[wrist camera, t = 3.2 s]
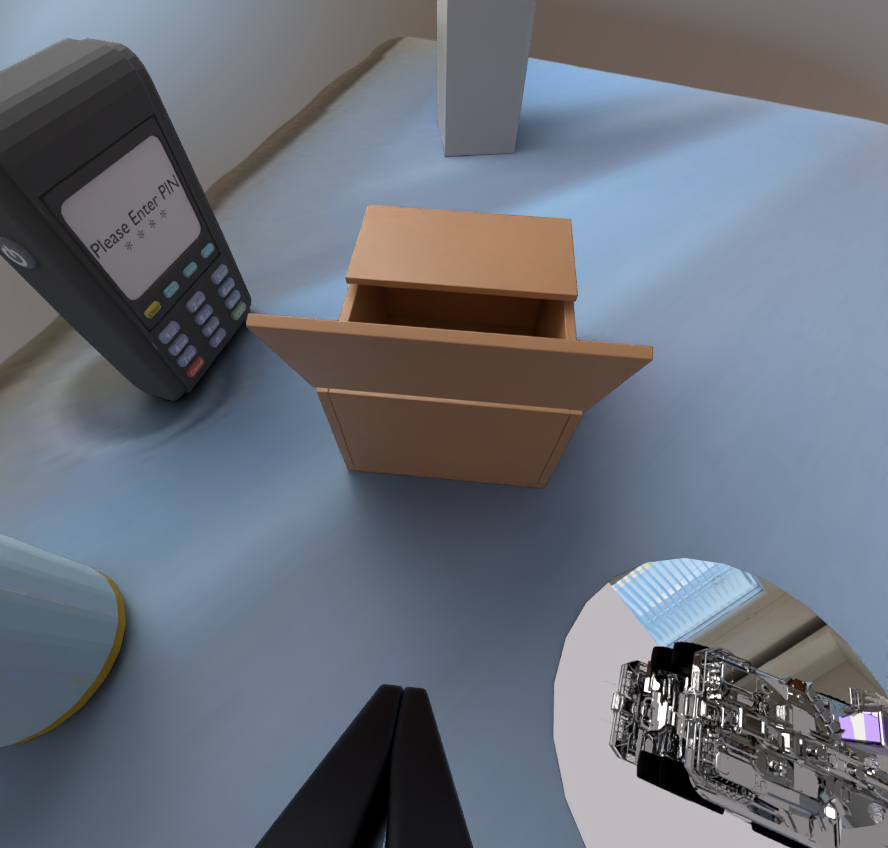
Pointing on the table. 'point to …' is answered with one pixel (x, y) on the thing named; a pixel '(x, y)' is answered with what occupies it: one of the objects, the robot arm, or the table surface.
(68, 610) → the bottle
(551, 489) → the table surface
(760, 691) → the toy car
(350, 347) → the lid flap
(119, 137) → the card reader
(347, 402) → the carton
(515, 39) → the perfume bottle
